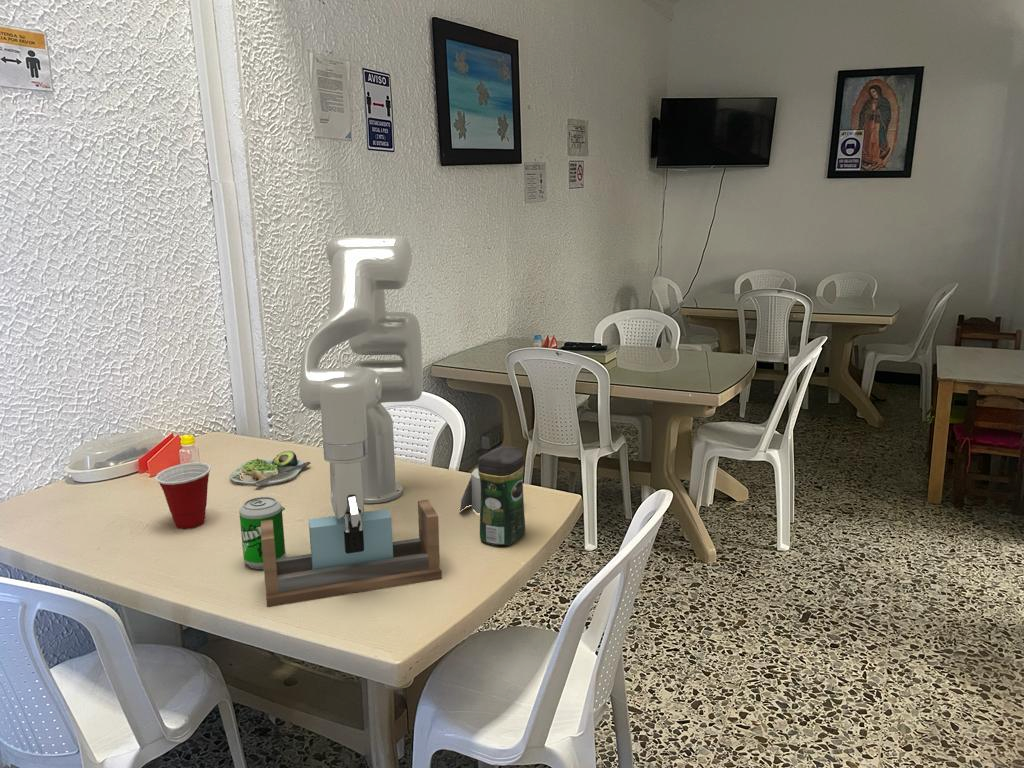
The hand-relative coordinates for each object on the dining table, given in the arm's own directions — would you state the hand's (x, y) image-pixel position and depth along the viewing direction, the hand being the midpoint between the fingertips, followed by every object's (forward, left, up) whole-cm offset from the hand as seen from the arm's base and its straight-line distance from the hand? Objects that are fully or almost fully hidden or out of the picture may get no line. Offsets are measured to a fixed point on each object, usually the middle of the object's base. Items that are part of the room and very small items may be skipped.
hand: (351, 540), depth 136 cm
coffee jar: (-8, +31, -7) cm, 32 cm away
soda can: (-12, -15, -7) cm, 21 cm away
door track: (0, 0, -7) cm, 7 cm away
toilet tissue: (-22, +32, -8) cm, 40 cm away
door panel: (0, 0, -6) cm, 6 cm away
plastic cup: (-36, -30, -7) cm, 47 cm away
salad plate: (-63, -13, -8) cm, 65 cm away
